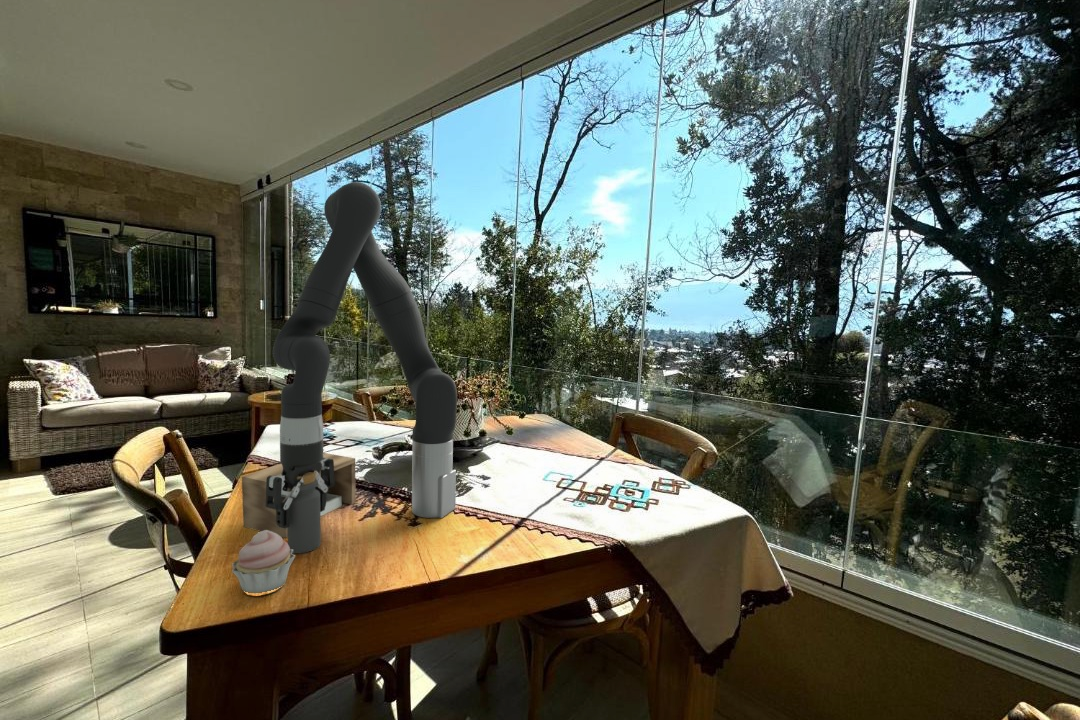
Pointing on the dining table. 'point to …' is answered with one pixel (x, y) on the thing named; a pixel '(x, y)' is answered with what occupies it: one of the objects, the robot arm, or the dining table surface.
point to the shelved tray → (331, 503)
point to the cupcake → (263, 563)
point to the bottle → (305, 517)
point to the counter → (255, 491)
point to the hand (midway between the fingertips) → (302, 518)
